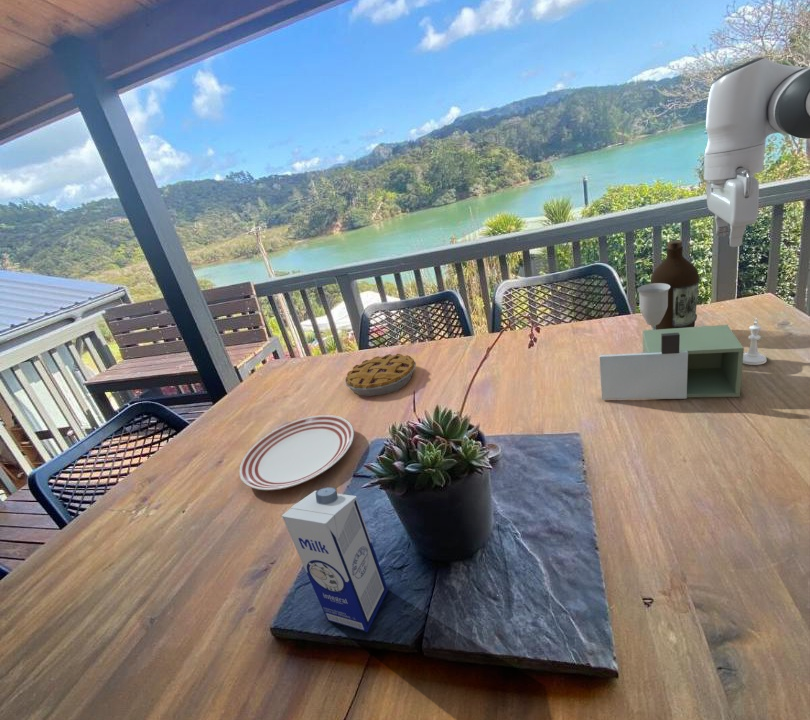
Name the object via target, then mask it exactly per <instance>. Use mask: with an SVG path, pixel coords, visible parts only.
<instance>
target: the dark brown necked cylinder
mask: <svg viewBox="0 0 810 720" xmlns="http://www.w3.org/2000/svg"><path fill="white" fill-rule="evenodd" d="M683 248H684V246H683V241H682V240H670V241H668V242H667V247H666V258H665V259H664V260H663V261H662V262H661V263H660V264H659V265H658V266H657V267H656V268H655V269H654V271H653V272H652V274H651V277H650V282H649V284H652V283H664V284H668V285H670V289H669V290H668V307H667V310H666V312H665V315H664V317H663V318H662V320H661V322H660V324H658V325H656V330H658V329H672V328H687V327H696V322H697V318H698V314H697V305H698V294H699V284H700V274H699V272H698V269H697V267H696V266H695V265H693V264H692V263H691V262H690V261H689V260H687V259H686V258H685V257H684V256H683Z"/></svg>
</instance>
